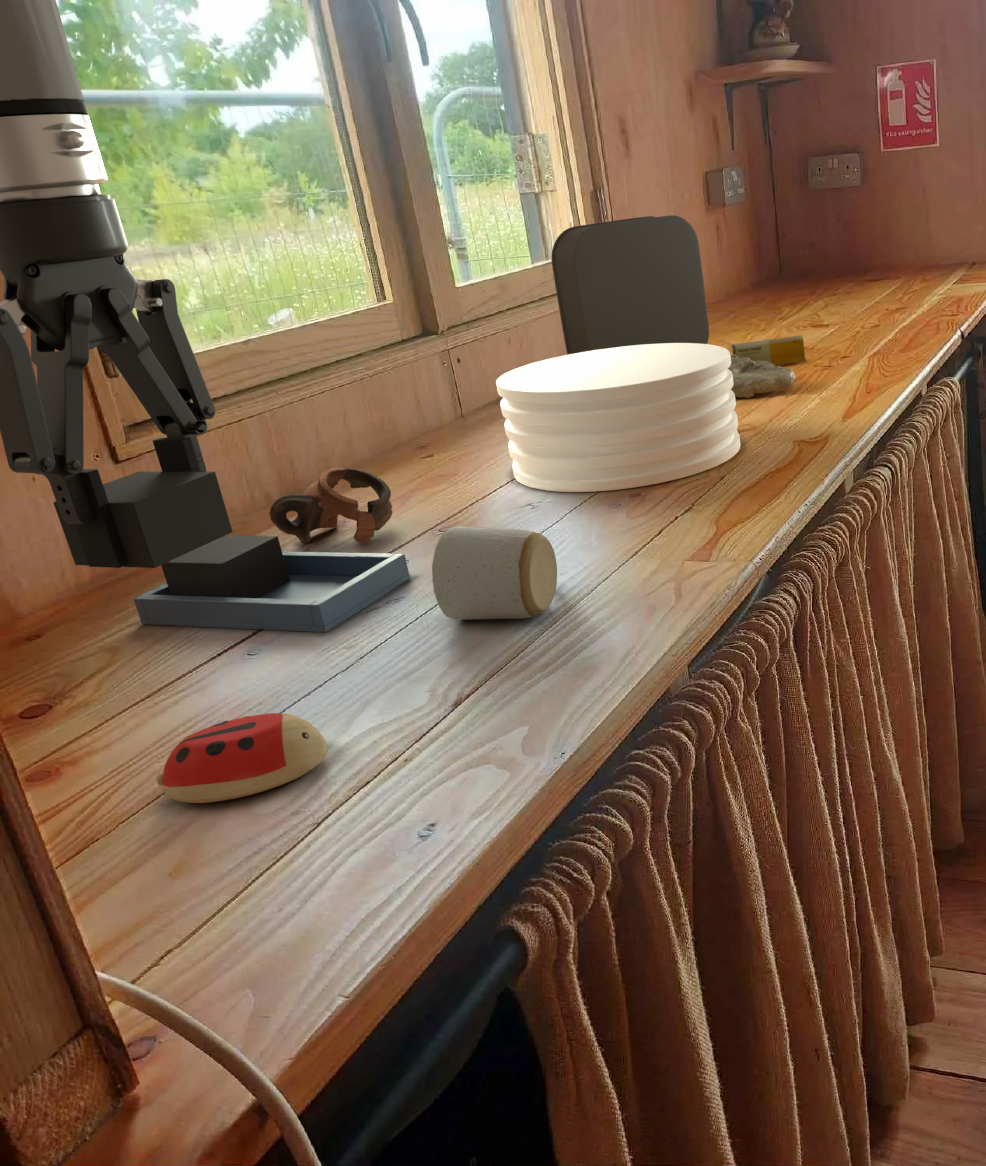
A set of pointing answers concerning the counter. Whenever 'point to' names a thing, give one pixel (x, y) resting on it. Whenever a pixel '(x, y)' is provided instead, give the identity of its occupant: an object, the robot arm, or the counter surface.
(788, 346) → the medication box
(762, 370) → the elongated rock
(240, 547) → the seated pad
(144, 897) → the counter surface
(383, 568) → the pad tray
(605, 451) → the plate stack
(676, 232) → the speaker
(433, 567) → the ceramic mug
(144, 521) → the loose pad
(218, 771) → the ladybug figurine
